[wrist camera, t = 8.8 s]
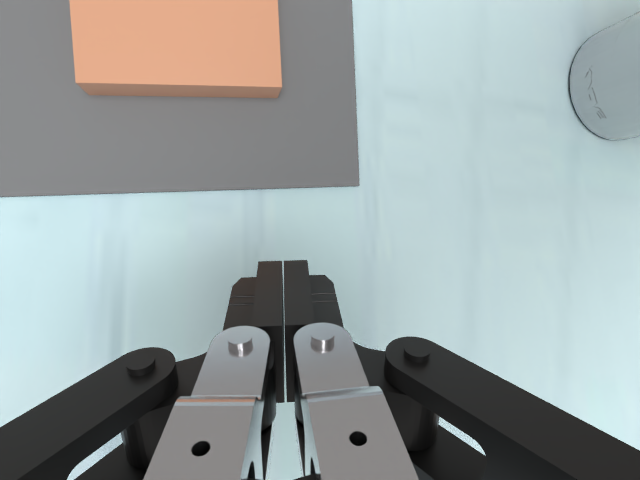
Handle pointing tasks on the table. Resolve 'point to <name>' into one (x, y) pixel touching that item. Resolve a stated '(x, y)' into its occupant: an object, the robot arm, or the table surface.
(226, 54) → the tile
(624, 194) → the table surface
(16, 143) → the mat
